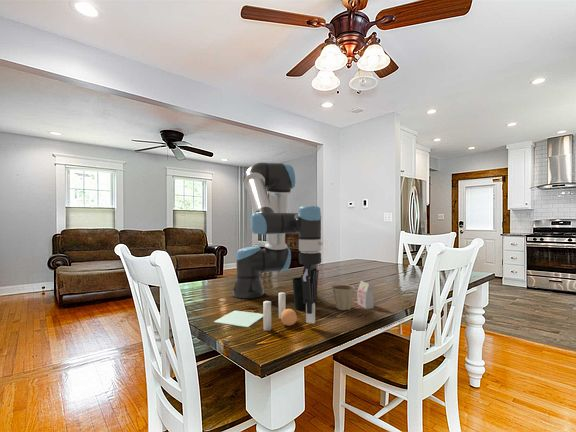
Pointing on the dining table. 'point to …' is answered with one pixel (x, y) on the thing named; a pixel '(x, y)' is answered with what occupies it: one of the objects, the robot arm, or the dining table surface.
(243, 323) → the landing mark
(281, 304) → the right post
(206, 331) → the dining table surface
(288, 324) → the ball
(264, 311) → the left post
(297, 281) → the cup
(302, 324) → the dining table surface
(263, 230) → the robot arm
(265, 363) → the dining table surface
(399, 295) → the dining table surface
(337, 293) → the flower pot
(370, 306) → the milk carton
